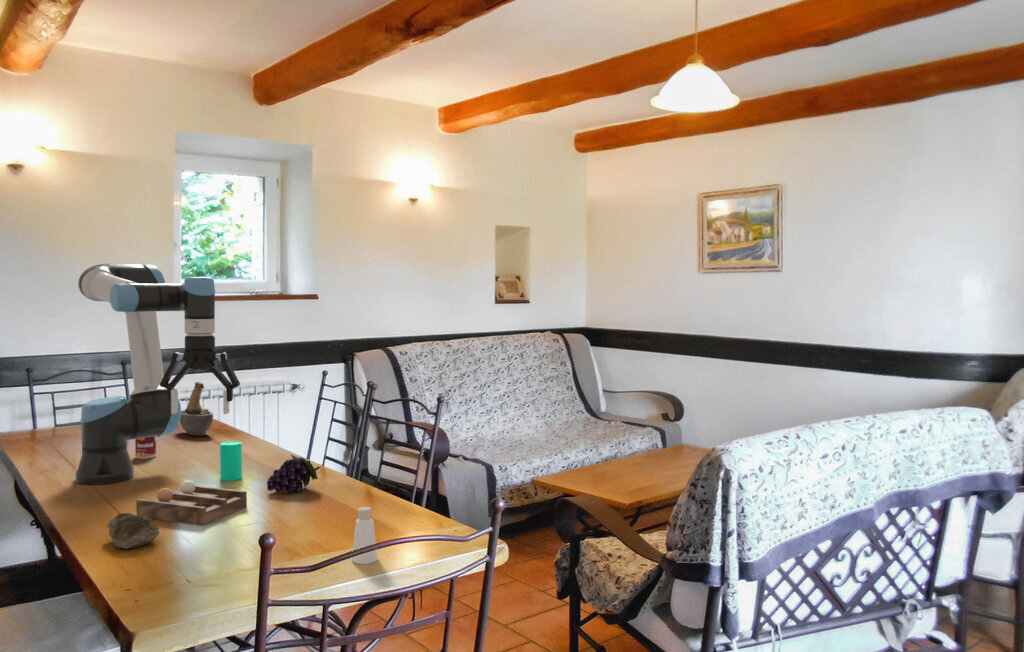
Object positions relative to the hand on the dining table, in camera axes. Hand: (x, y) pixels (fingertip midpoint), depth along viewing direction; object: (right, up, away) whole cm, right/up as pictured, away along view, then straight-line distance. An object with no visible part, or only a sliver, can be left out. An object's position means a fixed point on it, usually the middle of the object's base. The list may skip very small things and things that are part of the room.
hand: (200, 413), depth 208 cm
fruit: (+23, -23, +7) cm, 33 cm away
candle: (+1, -22, +20) cm, 29 cm away
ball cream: (0, -18, -9) cm, 20 cm away
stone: (0, -25, -36) cm, 44 cm away
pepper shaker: (+53, -26, -46) cm, 75 cm away
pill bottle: (-37, -20, +46) cm, 62 cm away
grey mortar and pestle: (-36, -18, +84) cm, 93 cm away
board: (+4, -23, -14) cm, 27 cm away
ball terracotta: (-2, -19, -16) cm, 25 cm away
